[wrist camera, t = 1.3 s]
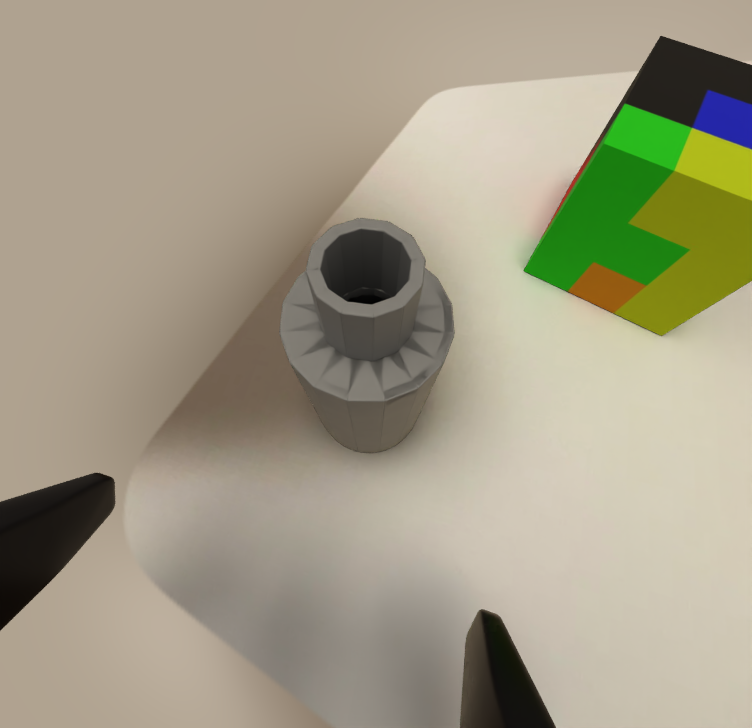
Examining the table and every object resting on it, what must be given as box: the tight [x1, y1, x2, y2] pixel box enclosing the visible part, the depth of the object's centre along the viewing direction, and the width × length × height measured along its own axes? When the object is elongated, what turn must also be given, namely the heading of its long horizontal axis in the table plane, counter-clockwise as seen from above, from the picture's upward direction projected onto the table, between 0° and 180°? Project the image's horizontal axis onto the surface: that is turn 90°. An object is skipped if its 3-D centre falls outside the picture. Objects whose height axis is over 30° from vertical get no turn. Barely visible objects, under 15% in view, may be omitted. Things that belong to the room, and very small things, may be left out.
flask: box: [279, 218, 455, 453], centre depth 17 cm, size 6×6×14 cm
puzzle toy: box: [524, 36, 752, 336], centre depth 23 cm, size 10×10×10 cm
